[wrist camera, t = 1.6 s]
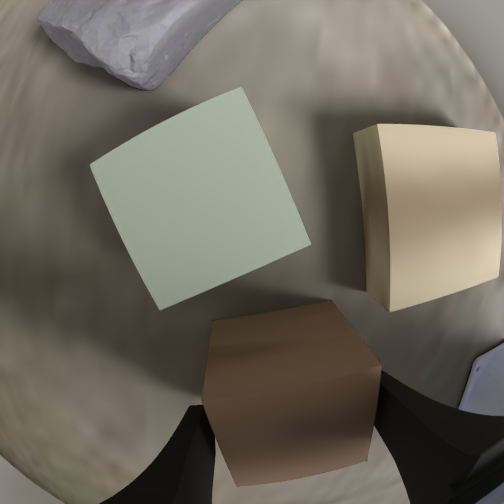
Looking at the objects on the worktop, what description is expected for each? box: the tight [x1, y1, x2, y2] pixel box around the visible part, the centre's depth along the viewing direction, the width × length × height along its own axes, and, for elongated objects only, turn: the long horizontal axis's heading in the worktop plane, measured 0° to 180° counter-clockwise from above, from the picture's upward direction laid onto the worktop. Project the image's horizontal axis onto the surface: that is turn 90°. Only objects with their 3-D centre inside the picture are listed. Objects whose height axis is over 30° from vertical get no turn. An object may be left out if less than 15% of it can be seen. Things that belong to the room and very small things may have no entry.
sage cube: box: [90, 87, 311, 310], centre depth 10 cm, size 5×5×5 cm
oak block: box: [352, 124, 502, 312], centre depth 12 cm, size 8×8×3 cm
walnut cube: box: [202, 300, 382, 487], centre depth 12 cm, size 6×6×6 cm
